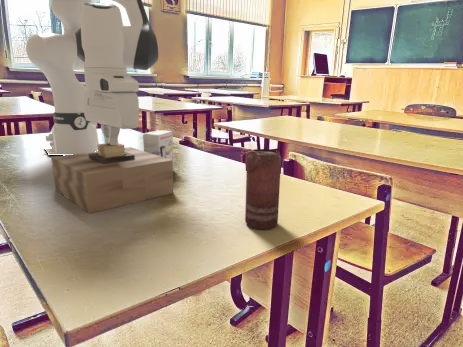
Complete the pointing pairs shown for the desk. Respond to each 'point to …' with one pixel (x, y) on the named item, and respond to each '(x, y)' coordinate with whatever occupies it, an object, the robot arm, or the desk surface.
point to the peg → (110, 150)
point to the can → (262, 188)
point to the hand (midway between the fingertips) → (111, 144)
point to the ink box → (159, 143)
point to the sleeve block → (112, 178)
